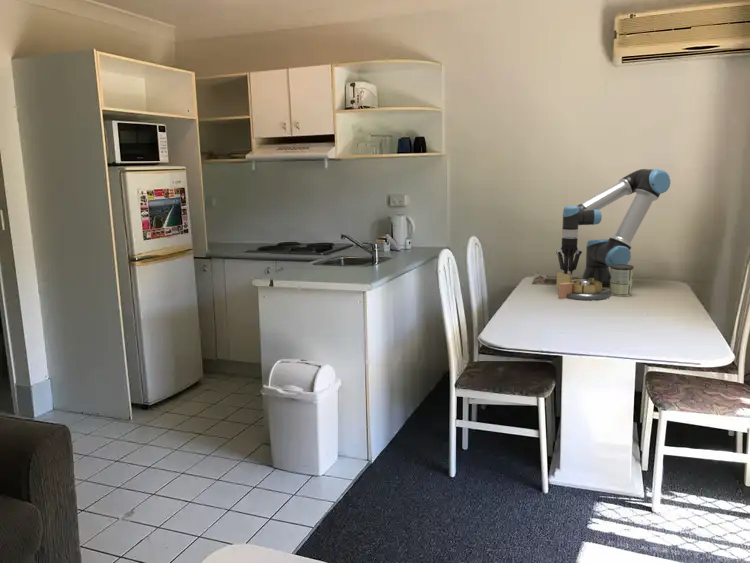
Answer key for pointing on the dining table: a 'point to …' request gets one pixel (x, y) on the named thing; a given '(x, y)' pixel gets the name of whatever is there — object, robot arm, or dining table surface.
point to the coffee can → (621, 280)
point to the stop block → (564, 290)
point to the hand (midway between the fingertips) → (567, 283)
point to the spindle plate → (589, 297)
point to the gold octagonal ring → (577, 286)
